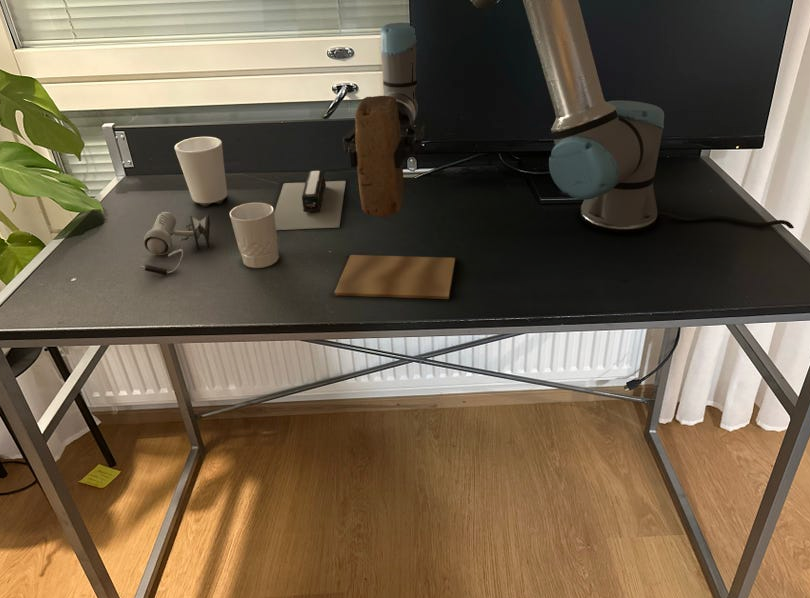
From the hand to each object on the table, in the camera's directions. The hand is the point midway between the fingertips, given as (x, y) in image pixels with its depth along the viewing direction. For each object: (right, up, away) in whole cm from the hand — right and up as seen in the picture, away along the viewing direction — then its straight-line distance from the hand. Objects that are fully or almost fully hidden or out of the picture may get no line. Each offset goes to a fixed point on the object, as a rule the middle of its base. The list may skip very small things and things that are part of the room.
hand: (375, 160), depth 122 cm
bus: (-17, -1, +31) cm, 35 cm away
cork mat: (+4, -20, +4) cm, 21 cm away
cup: (-40, +1, +34) cm, 52 cm away
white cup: (-23, -16, +11) cm, 30 cm away
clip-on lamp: (-39, -15, +13) cm, 44 cm away
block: (+1, -6, +11) cm, 12 cm away
